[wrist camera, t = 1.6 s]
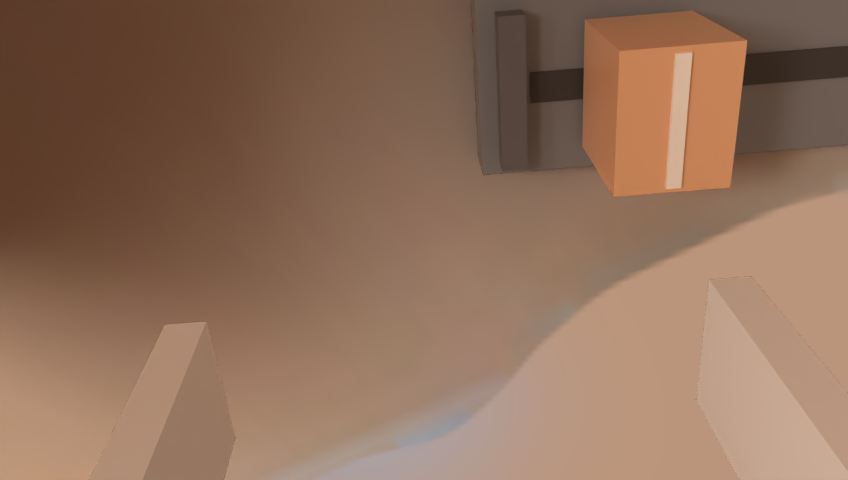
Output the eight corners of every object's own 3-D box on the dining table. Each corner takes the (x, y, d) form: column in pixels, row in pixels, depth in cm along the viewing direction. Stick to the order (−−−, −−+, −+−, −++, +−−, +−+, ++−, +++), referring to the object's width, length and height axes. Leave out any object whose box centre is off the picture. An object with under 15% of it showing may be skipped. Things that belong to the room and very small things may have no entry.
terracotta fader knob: (582, 146, 31) (614, 198, 26) (584, 19, 28) (620, 52, 24) (682, 138, 31) (732, 189, 26) (692, 10, 28) (749, 41, 24)
